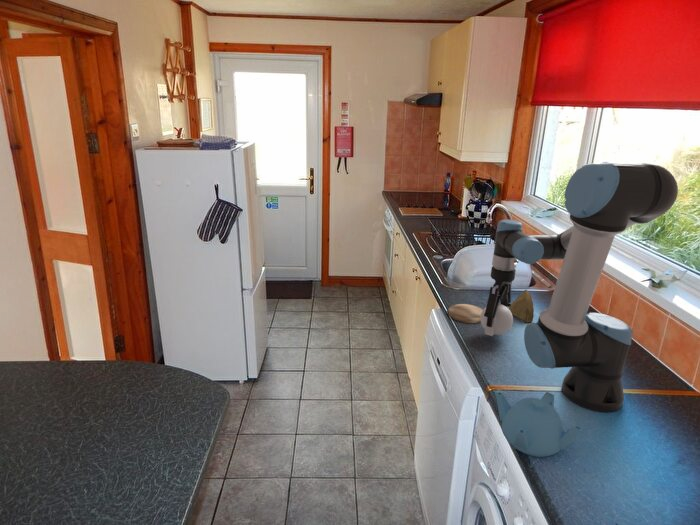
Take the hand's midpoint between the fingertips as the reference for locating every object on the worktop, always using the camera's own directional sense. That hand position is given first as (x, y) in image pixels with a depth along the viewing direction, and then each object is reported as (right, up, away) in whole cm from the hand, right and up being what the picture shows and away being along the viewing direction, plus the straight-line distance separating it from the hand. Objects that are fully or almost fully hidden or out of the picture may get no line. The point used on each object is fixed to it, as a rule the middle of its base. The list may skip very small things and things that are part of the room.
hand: (495, 328), depth 157 cm
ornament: (0, -2, +1) cm, 2 cm away
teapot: (-6, -20, -47) cm, 51 cm away
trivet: (-5, +3, +17) cm, 18 cm away
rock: (+15, +2, +17) cm, 23 cm away
